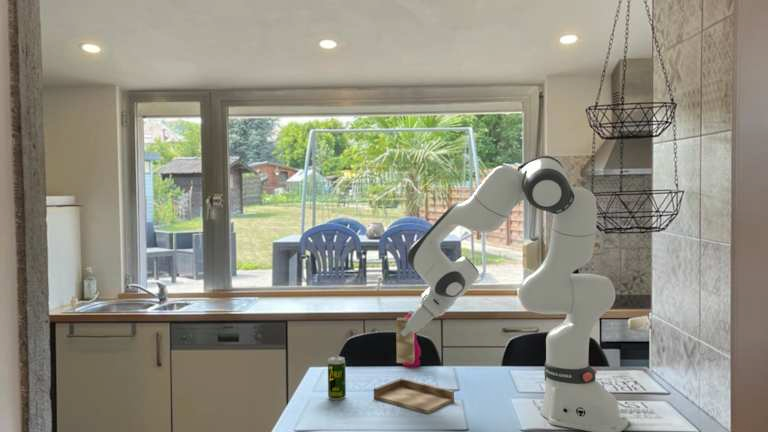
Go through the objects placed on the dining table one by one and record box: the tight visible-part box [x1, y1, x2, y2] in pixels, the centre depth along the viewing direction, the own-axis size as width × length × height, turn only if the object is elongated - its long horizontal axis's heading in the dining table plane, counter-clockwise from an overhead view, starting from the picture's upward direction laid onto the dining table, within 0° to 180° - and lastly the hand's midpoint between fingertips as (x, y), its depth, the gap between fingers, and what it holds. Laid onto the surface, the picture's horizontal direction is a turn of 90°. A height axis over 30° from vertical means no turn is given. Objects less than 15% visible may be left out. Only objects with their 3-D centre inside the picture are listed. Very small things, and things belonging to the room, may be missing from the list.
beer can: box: [327, 356, 347, 401], centre depth 171 cm, size 5×5×12 cm
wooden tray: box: [373, 377, 455, 415], centre depth 168 cm, size 20×13×3 cm, turn 49°
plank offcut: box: [395, 317, 415, 364], centre depth 171 cm, size 5×4×13 cm
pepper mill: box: [402, 310, 422, 368], centre depth 205 cm, size 7×7×20 cm
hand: (403, 332), depth 171 cm, fingers closed on plank offcut, 3 cm apart
